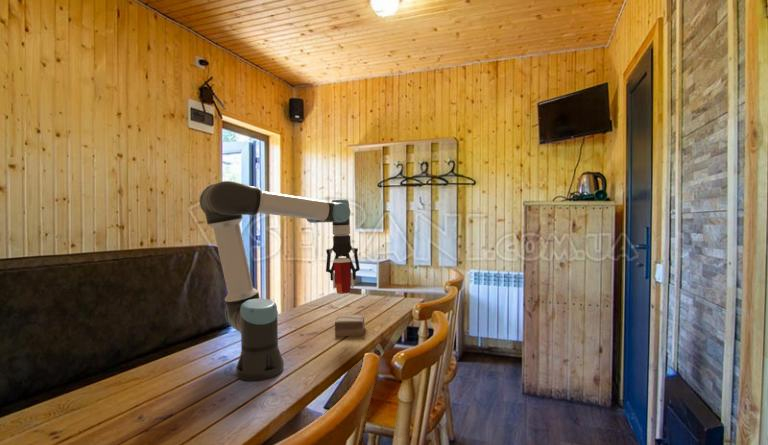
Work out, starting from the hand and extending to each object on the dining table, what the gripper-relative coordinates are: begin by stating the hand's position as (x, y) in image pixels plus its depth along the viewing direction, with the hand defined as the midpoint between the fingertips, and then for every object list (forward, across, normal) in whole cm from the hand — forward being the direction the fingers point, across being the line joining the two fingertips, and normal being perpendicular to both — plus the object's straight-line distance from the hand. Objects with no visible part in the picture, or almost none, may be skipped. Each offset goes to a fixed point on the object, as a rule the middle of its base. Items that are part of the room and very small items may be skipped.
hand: (343, 287), depth 159 cm
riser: (+21, -2, -5) cm, 22 cm away
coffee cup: (+2, 0, 0) cm, 2 cm away
